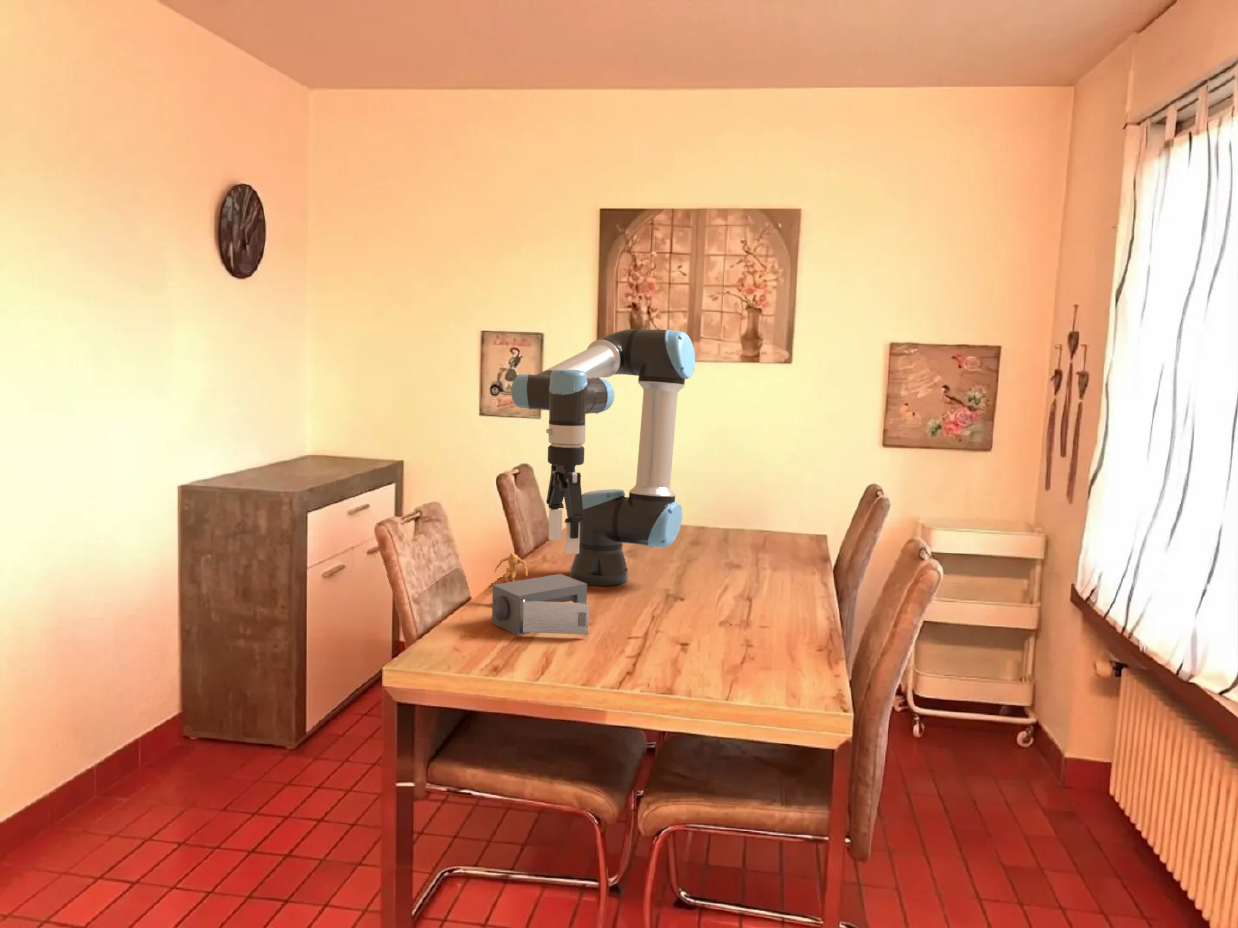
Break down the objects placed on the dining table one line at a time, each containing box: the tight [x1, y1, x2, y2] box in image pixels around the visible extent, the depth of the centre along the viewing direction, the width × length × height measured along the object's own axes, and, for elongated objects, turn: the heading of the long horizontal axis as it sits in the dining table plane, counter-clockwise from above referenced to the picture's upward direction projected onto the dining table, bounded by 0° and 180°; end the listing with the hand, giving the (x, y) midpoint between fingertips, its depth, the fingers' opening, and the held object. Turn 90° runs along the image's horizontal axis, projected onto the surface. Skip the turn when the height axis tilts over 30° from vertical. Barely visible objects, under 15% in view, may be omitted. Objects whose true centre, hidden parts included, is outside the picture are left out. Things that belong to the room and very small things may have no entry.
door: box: [519, 599, 590, 635], centre depth 193 cm, size 14×2×7 cm, turn 90°
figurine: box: [494, 552, 528, 583], centre depth 216 cm, size 8×6×12 cm
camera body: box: [491, 573, 588, 636], centre depth 203 cm, size 19×10×8 cm, turn 130°
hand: (563, 546), depth 195 cm, fingers open, 13 cm apart
